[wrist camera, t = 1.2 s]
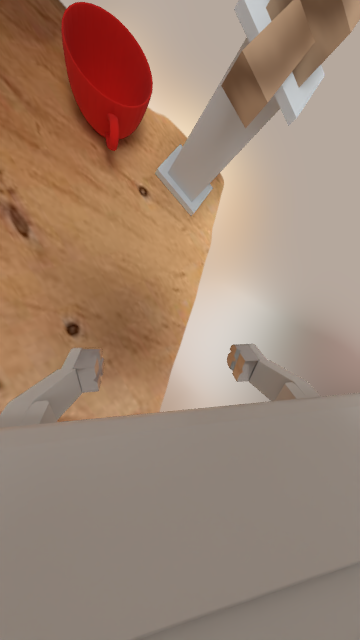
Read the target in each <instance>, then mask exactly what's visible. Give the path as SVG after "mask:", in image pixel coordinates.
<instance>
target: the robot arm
mask: <svg viewBox="0 0 360 640" xmlns="http://www.w3.org/2000/svg"><path fill="white" fill-rule="evenodd" d="M230 350H231V352H230V353H229V354H228V357H227V363H228V366H229V368H230V369H231V370H233V373H232V374H233V376H234V377H235V379H236V381H237V382H239V381H249V382H250V383H251V384H252V385H253V386H254V387H256V388H257V389H258V390H259V391H261V393H263V394H264V395H265V396H266V397H267V398H269V399H270V400H271V401H270V402H260V403H251V404H239V405H229V406H219V407H209V408H198V409H188V410H178V411H168V412H157V413H147V414H137V415H127V416H116V417H106V418H96V419H85V420H75V421H65V422H57V420H58V419H59V418H60V417H61V415H62V414H63V413H64V412H65V411H66V410H67V409H68V408H69V407H70V406H71V405H72V404H73V403H74V402H75V401H76V399H77V398H78V397H79V396H80V395H81V394H82V393H84V392H95V391H99V388H100V384H101V376H102V375H103V372H104V359H103V358H102V354H103V351H102V348H72V349H71V350H70V352H69V354H68V356H67V358H66V360H65V362H64V364H63V366H62V368H61V369H59V370H56V371H55V372H53V373H52V374H50V375H49V376H47V377H46V378H44V379H43V380H41V381H40V382H38V383H37V384H35V385H34V386H32V387H31V388H30V389H28V390H27V391H25V392H24V393H22V394H21V395H19V396H18V397H16V398H15V399H13V400H12V401H10V402H9V403H8V404H7V406H6V407H5V409H4V410H3V411H2V413H1V414H0V640H360V393H353V394H343V395H332V396H322V397H321V396H320V395H319V394H318V393H317V392H316V390H315V389H314V388H313V387H312V386H311V385H310V384H309V383H308V382H307V381H306V380H304V379H302V378H301V377H299V376H297V375H295V374H293V373H292V372H290V371H288V370H286V369H285V368H283V367H281V366H279V365H277V364H276V363H274V362H272V361H270V360H267V359H266V358H265V357H264V355H263V354H262V353H261V352H260V350H259V349H258V348H257V347H256V345H254V344H240V345H232V346H231V348H230Z"/></svg>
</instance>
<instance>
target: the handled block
mask: <svg viewBox="0 0 360 640" xmlns="http://www.w3.org/2000/svg"><path fill="white" fill-rule="evenodd" d="M266 9H267V12H268V14H269V16H270V19H271V22H270V23H269V24H268V25H267V26H266V27H265V28H264V29H263V30H262V31H261V32H260V33H259V34H258V35H257V36H256V37H255V38H254V39H253V40H252V41H251V42H250V43H249V44H248V45H247V46H246V47H245V48H244V49H243V50H242V52H241V53H240V55H239V57H238V58H237V60H236V62H235V63H234V65H233V67H232V68H231V70H230V72H229V73H228V75H227V77H226V78H225V80H224V82H223V83H222V85H221V86H222V88H223V90H224V92H225V93H226V95H227V97H228V99H229V100H230V102H231V104H232V106H233V107H234V109H235V111H236V113H237V114H238V116H239V118H240V120H241V122H242V123H243V125H244V127H245V129H246V128H247V126H248V125H249V124H250V123H251V122H252V121H253V119H254V118H255V117H256V116H257V115H258V114H259V112H260V111H261V110H262V109H263V108H264V107H265V105H266V104H267V103H268V102H269V101H270V99H271V98H272V97H273V95H274V94H275V93H276V92H277V90H278V89H279V88H280V86H281V85H282V84H283V83H284V81H285V80H286V79H287V77H288V76H289V75H290V74H291V72H293V75H294V77H295V80H296V82H297V85H298V87H300V86H301V85H302V84H303V83H304V82H305V81H306V80H307V79H308V78H309V77H310V75H311V74H312V73H313V72H314V71H315V70H316V69H317V68H318V67H319V66H320V65H321V64H322V63H323V62H324V61H325V59H326V58H327V57H328V56H329V55H330V54H331V53H332V52H333V51H334V50H335V49H336V48H337V47H338V46H339V45H340V43H341V42H342V41H343V40H344V39H345V38H346V37H347V36H348V35H349V34H350V33H351V32H352V30H353V28H354V27H355V25H356V24H357V22H358V21H359V19H360V0H270V1H269V3H268V5H267V6H266Z"/></svg>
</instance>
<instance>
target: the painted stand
mask: <svg viewBox="0 0 360 640" xmlns="http://www.w3.org/2000/svg"><path fill="white" fill-rule="evenodd" d="M269 1H270V0H239V1H238V3H237V5H236V7H235V9H234V10H235V12H236V15H237V17H238V19H239V21H240V23H241V25H242V27H243V29H244V32H245V34H246V36H247V38H246V40H245V41H244V43H243V45H242V46H241V48H240V50H239V52H238V53H237V55H236V57H235V58H234V60H233V62H232V63H231V65H230V67H229V69H228V70H227V72H226V74H225V75H224V77H223V79H222V81H221V82H220V84H219V86H218V87H217V89H216V91H215V93H214V94H213V96H212V98H211V99H210V101H209V103H208V105H207V106H206V108H205V110H204V111H203V113H202V115H201V117H200V118H199V120H198V122H197V123H196V125H195V127H194V129H193V130H192V132H191V134H190V135H189V137H188V139H187V141H186V142H185V144H184V146H183V147H182V145H181V144H180V145H179V146H178V147H177V148H176V149H175V150H174V151H173V152H172V153H171V155H170V156H169V157H168V158H167V159H166V160H165V161H164V162H163V163H162V164H161V165H160V166H159V168H158V169H157V170H156V172H155V174H156V176H157V177H158V178H159V179H160V180H161V181H162V183H163V184H164V185H165V186H166V187H167V188H168V190H169V191H170V192H171V193H172V194H173V196H174V197H175V198H176V199H177V200H178V201H179V203H180V204H181V205H182V206H183V207H184V208H185V210H186V211H187V212H188V213H189V214H190V215H191V216H192V215H193V214H194V213H195V211H196V210H197V209H198V207H199V206H200V205H201V203H202V202H203V201H204V199H205V198H206V197H207V195H208V194H209V193H210V191H211V190H212V189H213V188H212V186H211V185H210V182H211V181H212V180H213V179H214V178H215V177H216V176H217V175H218V174H219V173H220V172H221V171H222V170H223V168H224V167H225V166H226V165H227V164H228V163H229V162H230V161H231V160H232V159H233V158H234V157H235V156H236V155H237V154H238V153H239V152H240V151H241V150H242V148H243V147H244V146H245V145H246V144H247V143H248V142H249V141H250V140H251V139H252V138H253V137H254V135H256V134H257V133H258V132H259V130H260V129H261V128H262V127H263V126H264V125H265V124H266V123H267V122H268V121H269V120H270V119H271V118H272V117H273V116H274V115H275V113H276V112H277V111H278V110H279V109H281V111H282V113H283V115H284V117H285V119H286V121H287V124H288V126H289V125H290V124H291V123H292V122H293V121H294V120H295V119H296V118H297V117H298V115H299V114H300V112H301V111H302V109H303V108H304V106H305V105H306V103H307V102H308V100H309V99H310V97H311V96H312V94H313V93H314V91H315V90H316V88H317V87H318V85H319V83H320V82H321V80H322V79H323V77H324V76H325V74H324V71H323V68H322V65H320V66H319V67H318V68H317V69H316V70H315V71H314V72H313V73H312V74H311V75H310V77H309V78H308V79H307V80H306V81H305V82H304V83H303V84H302V85H301V86H300V87H298V85H297V82H296V80H295V77H294V75H293V72H291V74H290V75H289V76H288V77H287V79H286V80H285V81H284V83H283V84H282V85H281V86H280V88H279V89H278V90H277V92H276V93H275V94H274V95H273V97H272V98H271V99H270V101H269V102H268V103H267V104H266V105H265V107H264V108H263V109H262V110H261V111H260V112H259V114H258V115H257V116H256V117H255V118H254V119H253V121H252V122H251V123H250V124H249V125H248V126H247V128H246V129H245V127H244V125H243V123H242V122H241V120H240V118H239V116H238V114H237V113H236V111H235V109H234V107H233V106H232V104H231V102H230V100H229V99H228V97H227V95H226V93H225V92H224V90H223V88H222V86H221V85H222V83H223V82H224V80H225V78H226V77H227V75H228V73H229V72H230V70H231V68H232V67H233V65H234V63H235V62H236V60H237V58H238V57H239V55H240V53H241V52H242V50H243V49H244V48H245V47H246V46H247V45H248V44H249V43H250V42H251V41H252V40H253V39H254V38H255V37H256V36H257V35H258V34H259V33H260V32H261V31H262V30H263V29H264V28H265V27H266V26H267V25H268V24H269V23H270V22H271V19H270V16H269V14H268V12H267V9H266V6H267V5H268V3H269Z"/></svg>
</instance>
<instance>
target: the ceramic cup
mask: <svg viewBox="0 0 360 640" xmlns="http://www.w3.org/2000/svg"><path fill="white" fill-rule="evenodd" d="M61 30H62V41H63V49H64V56H65V62H66V68H67V73H68V78H69V82H70V86H71V89H72V92H73V94H74V97H75V100H76V102H77V104H78V106H79V108H80V110H81V112H82V114H83V115H84V117H85V118H86V120H87V121H88V123H89V124H90V125H91V126H92V127H93V129H94V130H95V131H96V132H97V133H98V134H100V135H101V136H103V137H105V138H106V143H107V147H108V148H109V149H110V150H112V151H115V150H116V149H117V147H118V140H119V139H123V138H125V137H128V136H129V135H130V134H132V133H133V132H134V131H135V130H136V128H137V127H138V125H139V124H140V122H141V120H142V118H143V116H144V114H145V111H146V109H147V106H148V104H149V100H150V97H151V94H152V84H153V82H152V75H151V71H150V67H149V64H148V62H147V59H146V57H145V55H144V53H143V51H142V49H141V47H140V46H139V44H138V43H137V41H136V40H135V38H134V37H133V35H132V34H131V33H130V32H129V31H128V29H127V28H126V27H125V26H124V25H123V24H122V23H121V22H120V21H119V20H118V19H117V18H115V17H114V16H113V15H112V14H110V13H109V12H107V11H106V10H104V9H102V8H101V7H99V6H96V5H94V4H91V3H85V2H77V3H74V4H72V5H70V6H69V7H68V8H67V9H66V10H65V12H64V15H63V18H62V29H61Z"/></svg>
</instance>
